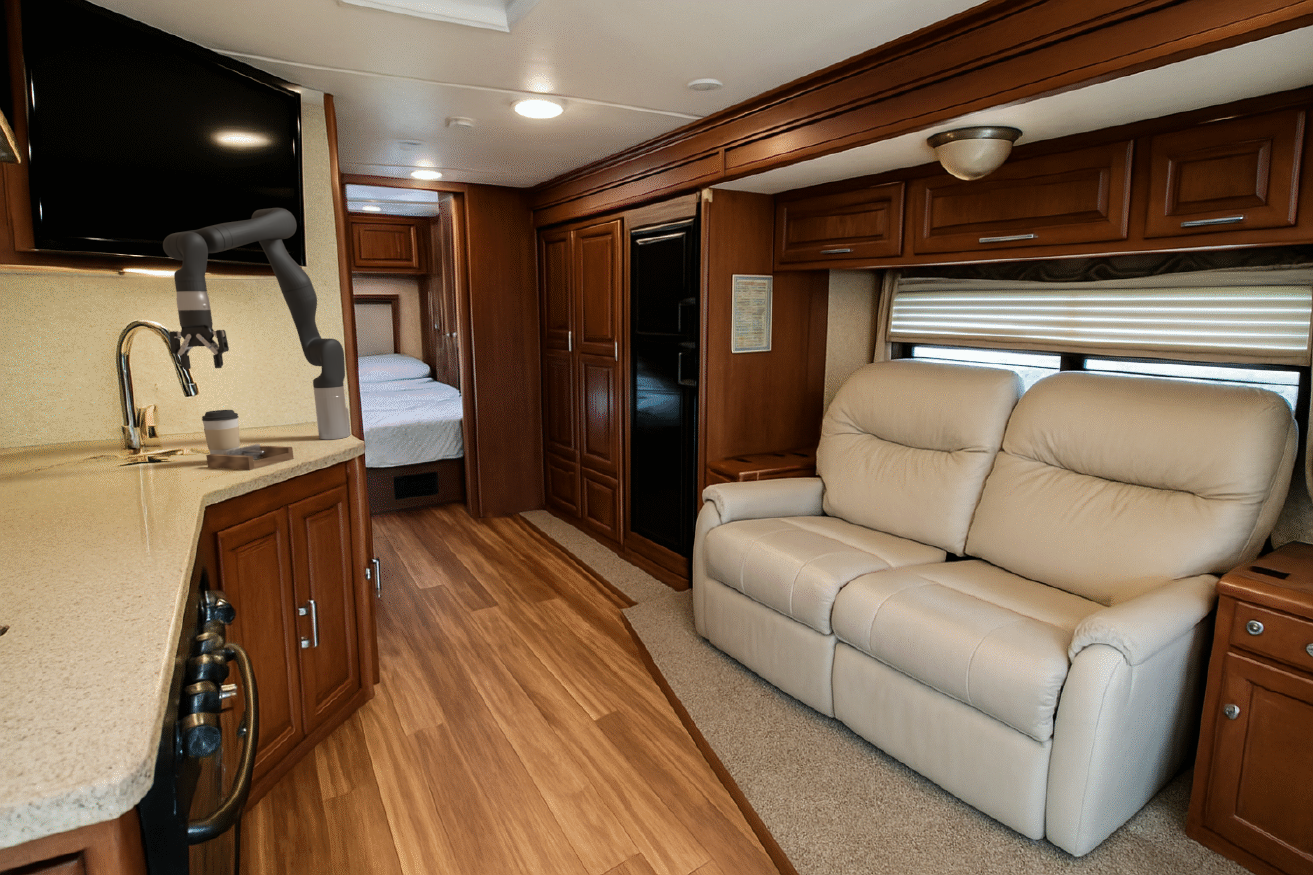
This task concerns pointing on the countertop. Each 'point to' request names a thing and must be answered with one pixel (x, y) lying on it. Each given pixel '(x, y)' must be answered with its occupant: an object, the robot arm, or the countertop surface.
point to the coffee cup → (221, 430)
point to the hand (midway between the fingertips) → (202, 368)
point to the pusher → (246, 451)
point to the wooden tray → (251, 458)
